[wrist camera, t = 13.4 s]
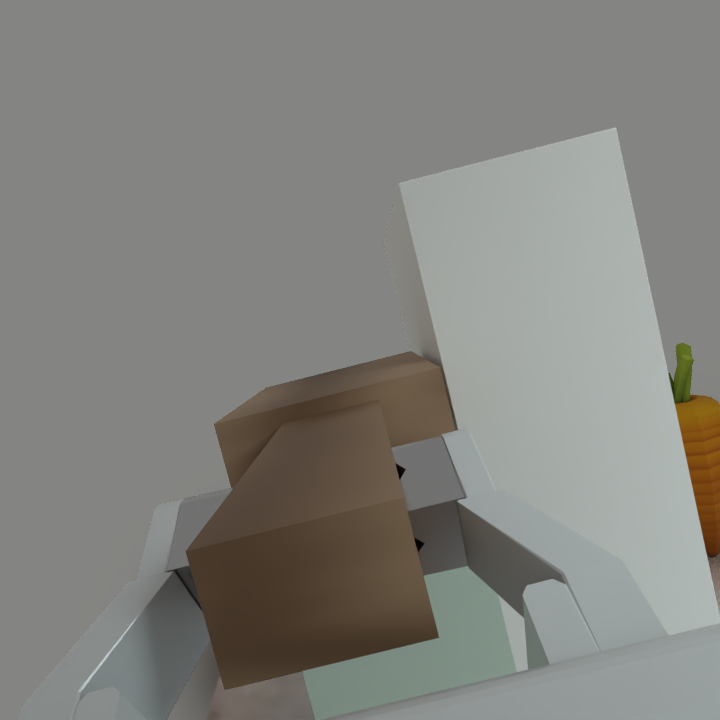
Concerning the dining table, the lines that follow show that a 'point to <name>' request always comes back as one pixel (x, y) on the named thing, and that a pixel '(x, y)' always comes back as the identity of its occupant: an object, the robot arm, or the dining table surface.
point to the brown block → (318, 522)
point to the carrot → (699, 447)
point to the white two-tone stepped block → (538, 395)
